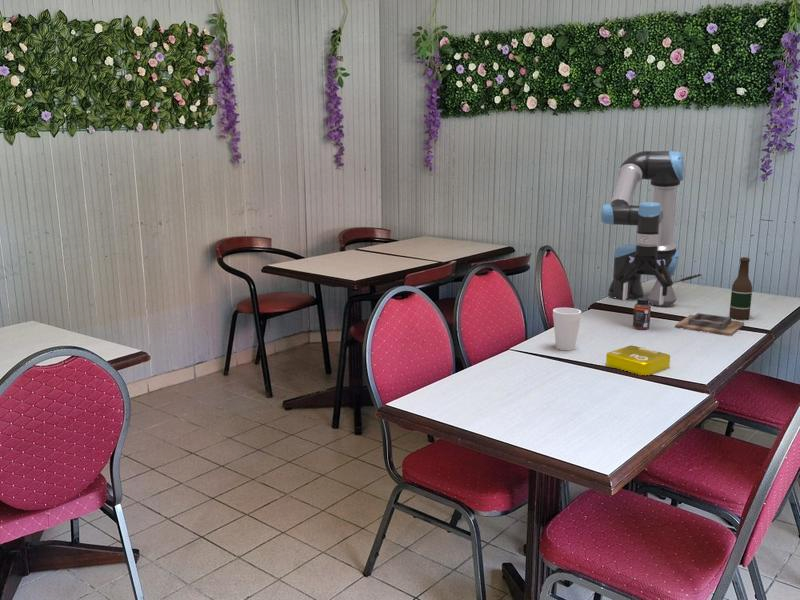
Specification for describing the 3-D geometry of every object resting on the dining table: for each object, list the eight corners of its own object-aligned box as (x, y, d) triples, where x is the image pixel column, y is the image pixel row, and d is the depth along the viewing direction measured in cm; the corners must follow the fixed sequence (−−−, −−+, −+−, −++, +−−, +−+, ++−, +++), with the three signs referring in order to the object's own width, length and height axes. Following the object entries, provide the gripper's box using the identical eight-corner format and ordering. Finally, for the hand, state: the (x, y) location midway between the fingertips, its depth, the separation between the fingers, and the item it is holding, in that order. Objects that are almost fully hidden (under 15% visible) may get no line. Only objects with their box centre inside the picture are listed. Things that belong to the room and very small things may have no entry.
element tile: (672, 368, 235) (673, 353, 234) (645, 378, 226) (646, 362, 225) (630, 357, 247) (631, 343, 245) (603, 366, 237) (603, 351, 236)
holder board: (674, 327, 282) (675, 319, 281) (689, 317, 297) (690, 309, 297) (731, 336, 270) (732, 327, 269) (744, 324, 286) (744, 317, 285)
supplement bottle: (650, 330, 278) (652, 300, 275) (633, 329, 279) (635, 300, 276) (648, 326, 283) (650, 297, 281) (631, 325, 284) (633, 296, 282)
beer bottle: (753, 320, 292) (759, 259, 287) (733, 320, 292) (739, 259, 287) (744, 315, 300) (750, 256, 294) (725, 315, 300) (730, 256, 295)
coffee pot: (643, 305, 317) (645, 270, 314) (652, 300, 326) (654, 266, 323) (695, 312, 305) (698, 276, 301) (703, 307, 314) (706, 272, 310)
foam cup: (579, 352, 250) (581, 314, 247) (551, 351, 252) (553, 313, 249) (578, 344, 259) (580, 308, 256) (551, 343, 261) (553, 307, 258)
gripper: (610, 243, 278) (606, 299, 283) (678, 249, 264) (673, 308, 268) (617, 241, 284) (613, 296, 289) (684, 246, 270) (680, 304, 274)
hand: (642, 302), depth 279 cm, fingers open, 13 cm apart
